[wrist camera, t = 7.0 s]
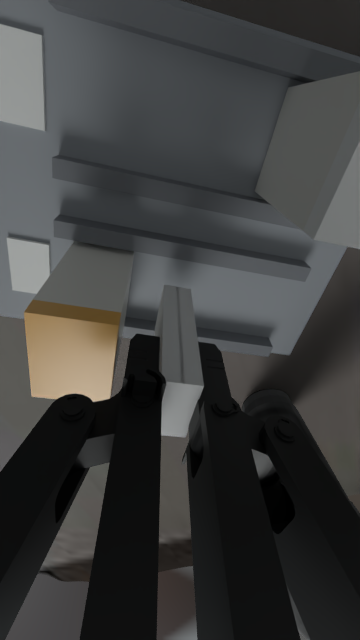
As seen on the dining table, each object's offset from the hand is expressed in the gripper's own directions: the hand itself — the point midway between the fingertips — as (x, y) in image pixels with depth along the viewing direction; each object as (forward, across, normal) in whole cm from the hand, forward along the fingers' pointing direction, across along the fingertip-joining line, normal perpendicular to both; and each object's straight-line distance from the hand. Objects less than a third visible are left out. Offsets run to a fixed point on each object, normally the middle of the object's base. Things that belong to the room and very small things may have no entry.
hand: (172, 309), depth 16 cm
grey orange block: (+2, -4, 0) cm, 4 cm away
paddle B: (+2, +4, +8) cm, 9 cm away
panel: (+5, -1, +4) cm, 7 cm away
